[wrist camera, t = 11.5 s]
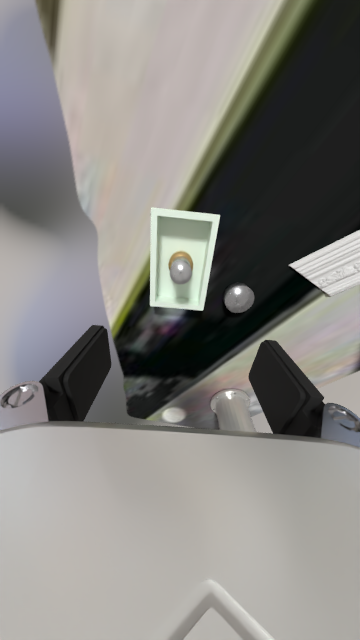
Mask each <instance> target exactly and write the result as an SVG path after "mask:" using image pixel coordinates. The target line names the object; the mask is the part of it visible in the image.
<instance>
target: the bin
mask: <svg viewBox="0 0 360 640" xmlns="http://www.w3.org/2000/svg"><path fill="white" fill-rule="evenodd" d="M219 219H220V215H215V214H206V213H197V212H188V211H179V210H170V209H161V208H152V207H151V262H150V306H155V307H167V308H178V309H189V310H201V311H203V309H204V303H205V298H206V292H207V286H208V281H209V275H210V269H211V264H212V258H213V253H214V247H215V241H216V236H217V230H218V224H219ZM180 250H181V251H186V252H187V253H189V255H190V256H191V258H192V261H193V270H192V276H191V279H190V280H189V281H188V282H187V283H185V284H176V283H175V282H173V281H172V279H171V277H170V271H169V267H168V264H169V260H170V257H171V256H172V254H173V253H175V252H176V251H180Z"/></svg>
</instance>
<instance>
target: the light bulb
mask: <svg viewBox="0 0 360 640" xmlns="http://www.w3.org/2000/svg"><path fill="white" fill-rule="evenodd" d="M168 267H169V271H170V277H171V279H172V281H173V282H175V283H176V284H185V283H187V282H188V281H189V280H190V279H191V276H192V270H193V261H192V258H191V256H190V255H189V253H187V252H186V251H181V250H180V251H176V252H175V253H173V254H172V256H171V257H170V260H169V264H168Z"/></svg>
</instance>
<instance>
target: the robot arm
mask: <svg viewBox="0 0 360 640" xmlns="http://www.w3.org/2000/svg"><path fill="white" fill-rule="evenodd" d="M110 368H111V358H110V349H109V342H108V333H107V329H104V327H103V326H97V325H92V326H91V327H90V328H89V329H88V330H87V331H86V332H85V333H84V335H82V337H81V338H80V339H79V340H78V341H77V342H76V343H75V344H74V345H73V346H72V347H71V348H70V350H68V351H67V352H66V354H65V355H64V356H63V357H62V358H61V359H60V360H59V361H58V362H57V363H56V364H55V365H54V366H53V367H52V369H50V371H49V372H48V373H47V374H46V375H45V376H44V377H43V378H42V379H41V380H40V381H39V382H36V381H27V382H23V383H20V384H17V385H15V386H12V387H11V388H9V389H7V390H6V391H5V392H3V393H2V394H1V395H0V640H360V418H359V417H358V416H357V415H355V414H354V413H353V412H351V411H350V410H348V409H347V408H345V407H343V406H341V405H338V404H334V403H327V404H324V403H323V402H322V400H323V399H324V397H323V396H322V394H321V393H320V392H319V391H318V390H317V388H316V387H315V386H314V385H313V384H312V383H311V381H310V380H309V379H308V378H307V377H306V375H305V374H304V373H303V372H302V371H301V370H300V368H299V367H298V366H297V365H296V364H295V363H294V361H293V360H292V359H291V358H290V357H289V355H288V354H287V353H286V352H285V351H284V350H283V348H282V347H281V346H280V345H279V344H278V342H277V341H272V340H265V341H264V342H262V343H261V344H260V347H259V349H258V352H257V355H256V357H255V360H254V362H253V365H252V368H251V370H250V373H249V381H250V383H251V385H252V387H253V389H254V392H255V394H256V396H257V398H258V401H259V403H260V405H261V407H262V410H263V412H264V414H265V416H266V418H267V421H268V423H269V425H270V427H271V430H272V432H273V434H271V433H257V432H256V430H255V427H254V424H253V421H252V419H251V416H250V413H249V411H248V407H249V405H250V399H249V397H248V395H247V394H246V393H245V392H243V391H241V390H237V389H227V390H223V391H220V392H218V393H217V394H215V395H214V396H213V397H212V399H211V401H210V406H211V409H212V411H213V412H214V413H216V414H217V417H218V422H219V428H220V430H215V429H200V428H185V427H170V426H154V425H137V424H121V423H102V422H83V420H84V419H85V417H86V415H87V413H88V411H89V409H90V407H91V405H92V403H93V401H94V399H95V397H96V396H97V394H98V391H99V390H100V388H101V386H102V384H103V382H104V380H105V378H106V376H107V374H108V372H109V370H110Z"/></svg>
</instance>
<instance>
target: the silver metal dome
mask: <svg viewBox="0 0 360 640" xmlns="http://www.w3.org/2000/svg"><path fill="white" fill-rule="evenodd" d="M223 301H224V303H225V305H226V307H227V308H228V310H230V311H231V312H234V313H240V312H244V311H246V310H247V309H249V308H250V307H251V305H252V304H253V301H254V294H253V291H252V290H251V289H250V288H249V287H248V286H247V285H245V284H243V283H233V284H231V285H229V286H228V287H227V288H226V289H225V291H224V293H223Z"/></svg>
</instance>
